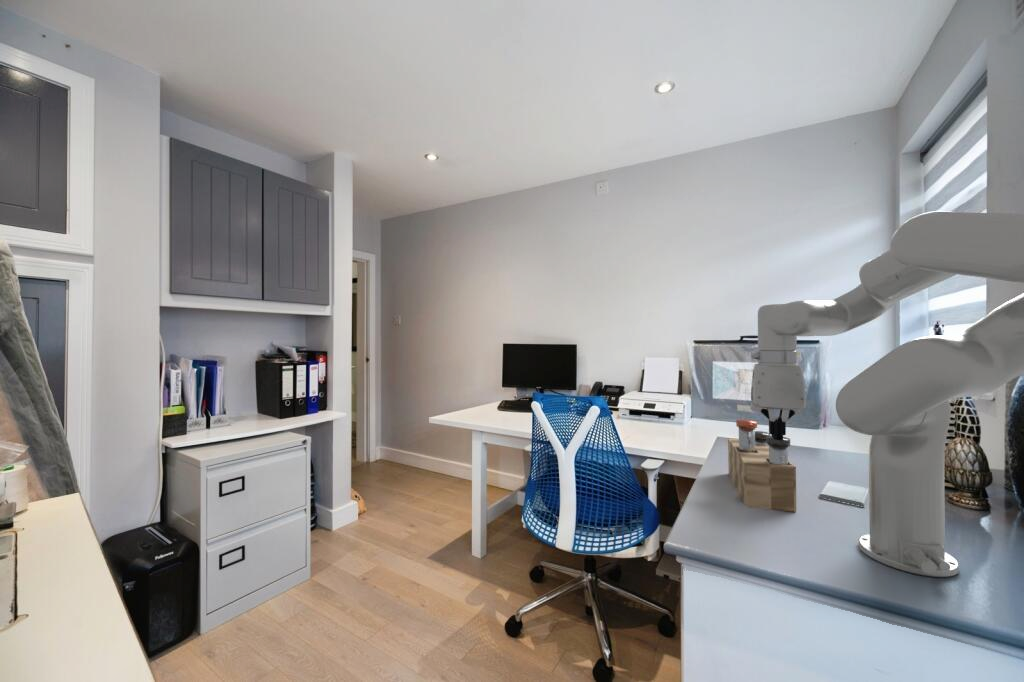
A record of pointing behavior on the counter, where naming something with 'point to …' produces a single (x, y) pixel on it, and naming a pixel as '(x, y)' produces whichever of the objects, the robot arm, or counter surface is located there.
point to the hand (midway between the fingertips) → (777, 437)
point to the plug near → (778, 450)
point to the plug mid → (746, 435)
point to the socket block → (762, 478)
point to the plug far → (761, 437)
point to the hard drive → (845, 493)
